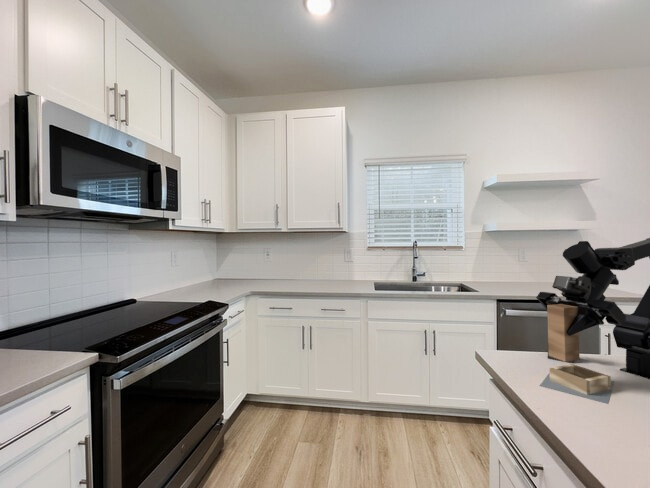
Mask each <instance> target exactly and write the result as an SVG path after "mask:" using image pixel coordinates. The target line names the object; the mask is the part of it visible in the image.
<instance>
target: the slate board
mask: <svg viewBox="0 0 650 488" xmlns="http://www.w3.org/2000/svg"><path fill="white" fill-rule="evenodd" d="M614 382H615V381H613V380H611V389H609V390H605V391H601V392H596V393H592V394H588V395H586V394H584V393H581V392H579V391H576V390H574V389H571V388H569V387H566V386H564V385H561V384H558V383H556V382H553V381H551V380H550V372H549V373H548V374H547V375H546V377H544V379H543V380H542V381H541V383H540V384H539V385H538V386H539V387H542V388H545V389H550V390H554V391H557V392H561V393H564V394H568V395H572V396H576V397H580V398H584V399H586V400H591V401H595V402H599V403H603V404H606V405H609V402H610V399H611V394H612V391H613V386H614Z"/></svg>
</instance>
